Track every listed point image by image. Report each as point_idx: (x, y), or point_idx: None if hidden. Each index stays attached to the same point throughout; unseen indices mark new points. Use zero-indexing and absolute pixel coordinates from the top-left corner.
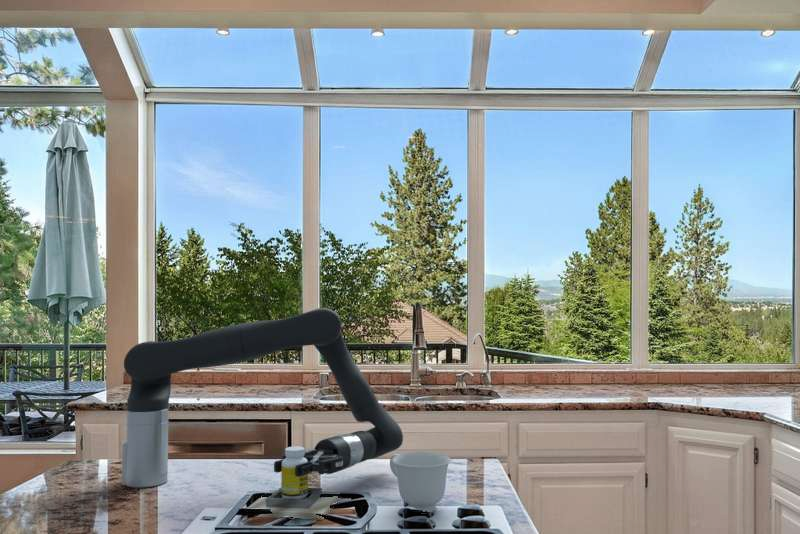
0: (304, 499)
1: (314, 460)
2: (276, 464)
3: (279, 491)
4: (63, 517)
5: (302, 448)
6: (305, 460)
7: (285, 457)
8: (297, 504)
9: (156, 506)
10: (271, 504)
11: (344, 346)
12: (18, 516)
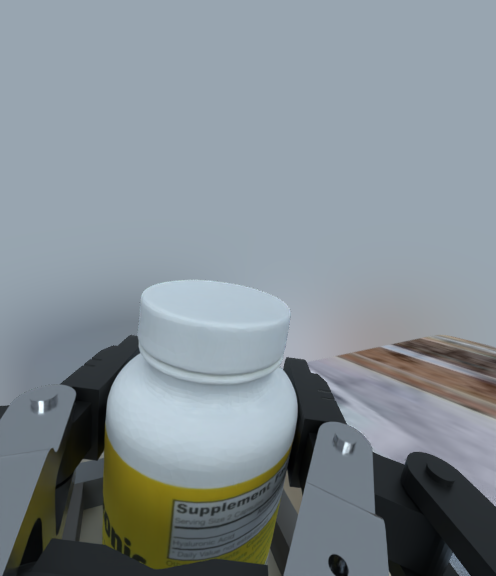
0: (90, 474)
1: (30, 415)
2: (284, 364)
3: (288, 536)
4: (461, 354)
5: (156, 295)
6: (120, 379)
7: (401, 472)
8: None
9: (480, 411)
10: None
11: None
12: (489, 348)
